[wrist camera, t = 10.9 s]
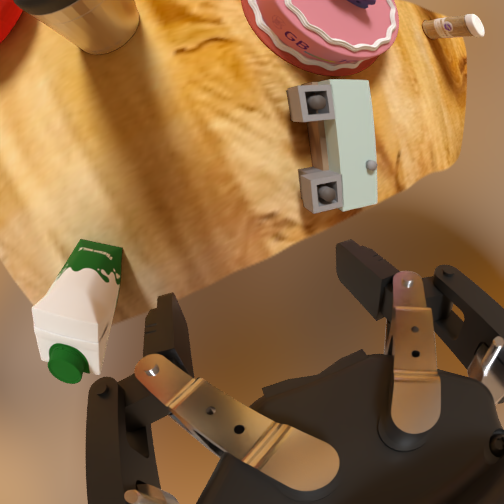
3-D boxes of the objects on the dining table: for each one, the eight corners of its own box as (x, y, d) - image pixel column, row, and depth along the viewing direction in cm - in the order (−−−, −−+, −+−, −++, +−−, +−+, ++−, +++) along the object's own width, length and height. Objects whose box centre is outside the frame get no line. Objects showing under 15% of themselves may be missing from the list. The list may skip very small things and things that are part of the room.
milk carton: (74, 282, 38) (33, 375, 21) (75, 231, 35) (17, 313, 17) (123, 293, 41) (103, 393, 24) (129, 242, 38) (100, 335, 21)
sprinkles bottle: (418, 23, 31) (469, 15, 19) (427, 18, 30) (477, 12, 19) (429, 42, 33) (481, 39, 21) (438, 37, 33) (487, 34, 21)
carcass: (285, 85, 34) (307, 79, 27) (347, 83, 35) (376, 80, 29) (301, 202, 42) (323, 218, 36) (357, 190, 43) (384, 203, 37)
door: (286, 83, 30) (299, 79, 27) (355, 81, 32) (372, 79, 28) (304, 211, 39) (317, 221, 35) (365, 197, 40) (381, 205, 37)
